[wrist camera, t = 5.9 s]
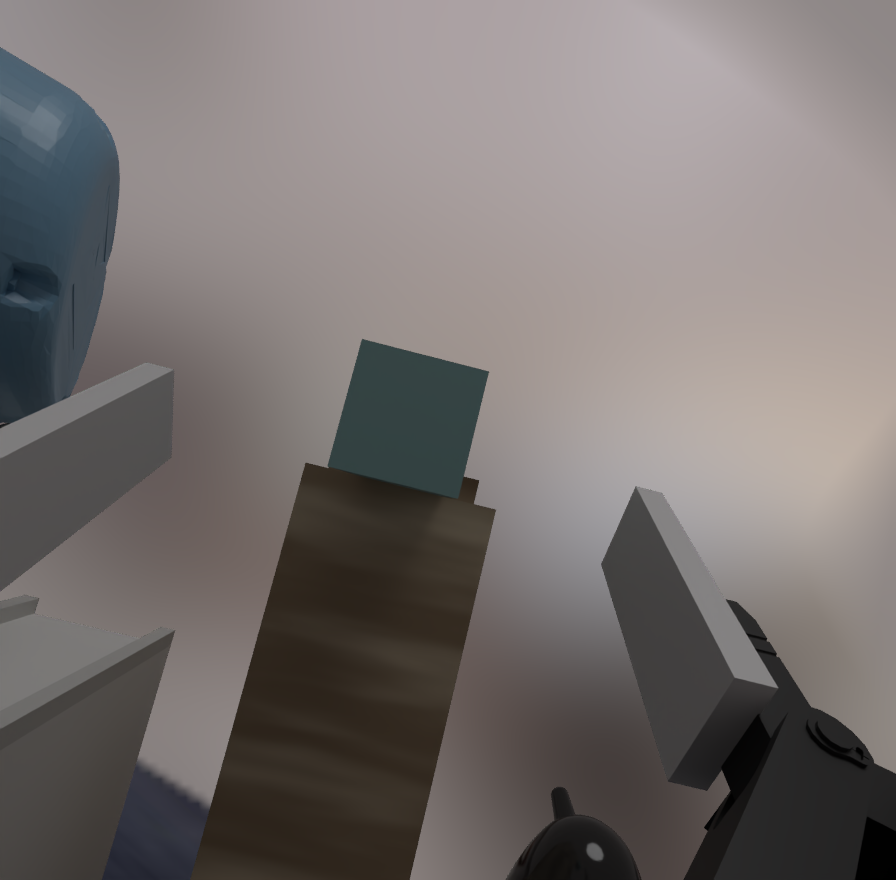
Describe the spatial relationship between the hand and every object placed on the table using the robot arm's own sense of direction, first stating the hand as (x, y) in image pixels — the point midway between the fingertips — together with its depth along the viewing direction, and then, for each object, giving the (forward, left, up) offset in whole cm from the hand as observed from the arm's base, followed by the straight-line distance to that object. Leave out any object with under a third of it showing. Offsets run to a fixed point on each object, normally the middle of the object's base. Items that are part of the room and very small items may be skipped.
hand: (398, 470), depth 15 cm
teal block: (-9, +3, 0) cm, 10 cm away
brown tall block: (-12, +4, -30) cm, 33 cm away
